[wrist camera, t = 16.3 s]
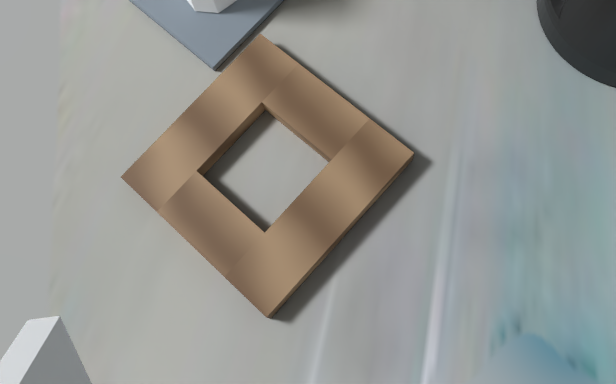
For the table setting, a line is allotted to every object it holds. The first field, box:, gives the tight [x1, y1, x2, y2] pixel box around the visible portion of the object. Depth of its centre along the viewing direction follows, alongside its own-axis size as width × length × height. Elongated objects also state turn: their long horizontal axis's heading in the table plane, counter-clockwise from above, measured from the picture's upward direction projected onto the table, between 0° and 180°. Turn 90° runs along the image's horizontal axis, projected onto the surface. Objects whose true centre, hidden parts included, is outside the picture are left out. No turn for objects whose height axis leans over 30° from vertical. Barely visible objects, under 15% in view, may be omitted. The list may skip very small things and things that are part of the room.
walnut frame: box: [121, 34, 414, 319], centre depth 44 cm, size 16×16×2 cm
